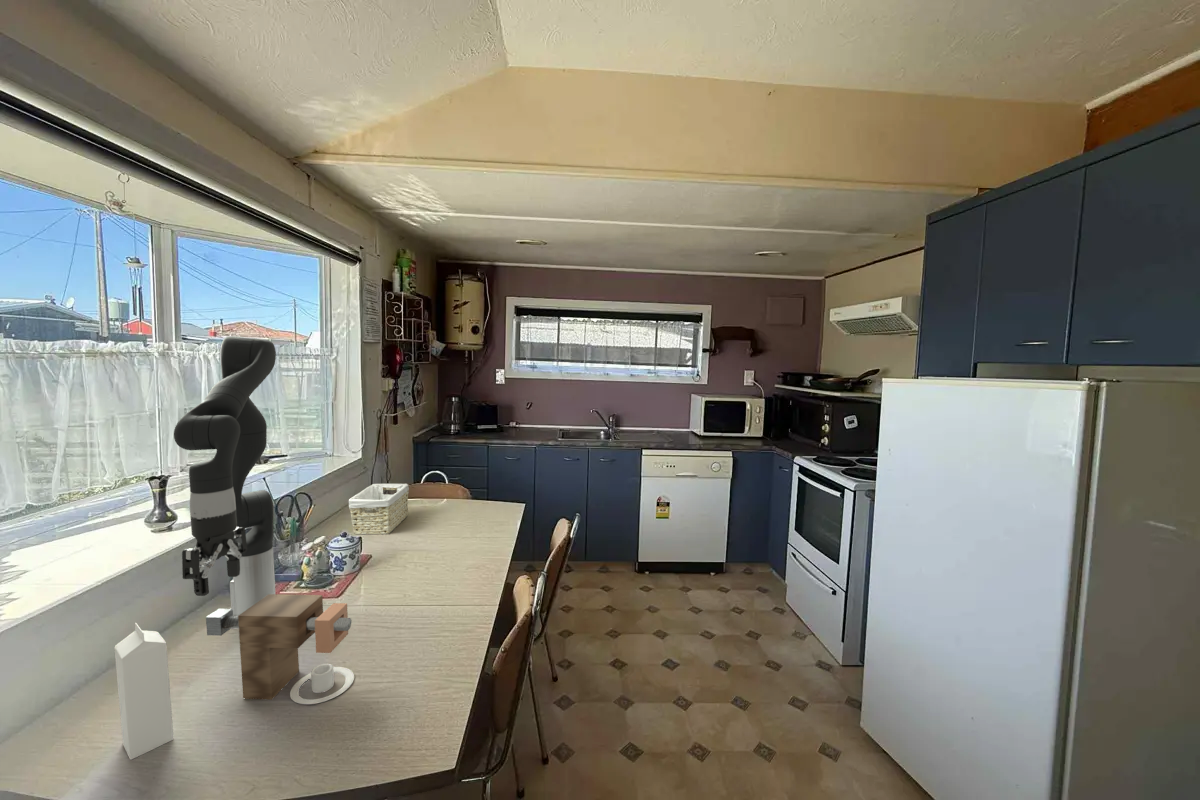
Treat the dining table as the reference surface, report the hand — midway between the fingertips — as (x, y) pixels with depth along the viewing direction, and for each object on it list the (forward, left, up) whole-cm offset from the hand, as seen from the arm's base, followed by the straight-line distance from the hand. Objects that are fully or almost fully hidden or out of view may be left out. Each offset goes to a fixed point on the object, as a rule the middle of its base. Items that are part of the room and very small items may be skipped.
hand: (218, 585), depth 104 cm
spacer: (+24, 0, -12) cm, 27 cm away
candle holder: (+21, 0, -23) cm, 31 cm away
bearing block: (+13, 0, -22) cm, 26 cm away
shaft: (+13, 0, -10) cm, 16 cm away
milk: (-2, -16, -22) cm, 28 cm away
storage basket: (-11, +98, -22) cm, 101 cm away
